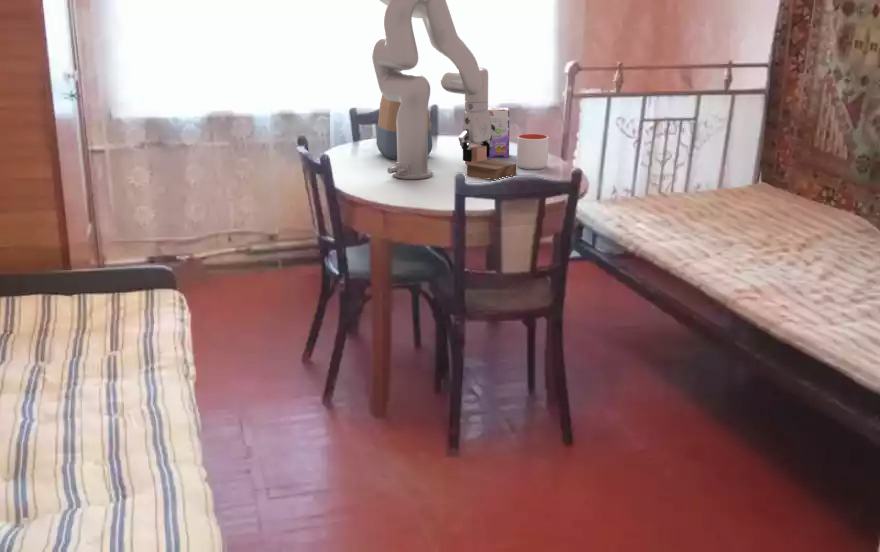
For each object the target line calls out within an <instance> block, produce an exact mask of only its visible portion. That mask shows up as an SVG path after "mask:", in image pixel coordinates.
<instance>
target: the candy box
mask: <svg viewBox="0 0 880 552" xmlns="http://www.w3.org/2000/svg"><path fill="white" fill-rule="evenodd" d="M488 110H489V113H490V119H491V129H493V130H494V132H493V135H492V139H491V144H490V156H489V157H488V158H509V157H510V138H511V137H510V136H511V135H510V130H511V128H510V125H511V124H510V122H511V121H510V114H511V113H510V110H511V109H510V107H497V106H496V107H494V106H493V107H492V106H491V107H489V106H488ZM474 144H475V145H481V144H483V143H482V142H480V143H473V144H472V145H474Z"/></svg>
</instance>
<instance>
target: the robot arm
mask: <svg viewBox="0 0 880 552" xmlns="http://www.w3.org/2000/svg"><path fill="white" fill-rule="evenodd" d="M379 1H380V2H382V4H384V5H385V6H386V8H385V10H384V14H383V17H382V26H383V27H382V28H383V32H384V36H381V37H379V38H378V39H377V40H376V41H375V43H374V45H373V47H372V51H371V52H372V53H371V56H372V57H371V59H372V64H373V68H374V72H375V75H376V80H377V84H378V88H379V91H380V92H381V94H382V95H383V96H384V97H385V98H386V99H387V100H389V101H393V102H399V103H401V104H400V107H399V110H398V113H397V119H396V126H397V160H396V162H395V163H394V166H389V167H387V170H386V171H387V173H388V174H389V175H391V174H392V175H391V176H393V177H394V178H396V179H402V180H422V179H428V178H430V177H432V176H433V175H434V173H433V170H431V169H429V168H428V167H429V165H428V163H429V162H428V161H429V160H428V158H429V155H428V142H427V111H429V102H430V96H431V86H430V85H431V84H430V83H429V81H428V79H427V78H426V77H425V76H424V75H421V74H419V73H417V72H410V71H409V70H412V69H414V68H415V67H417V64H418V62H419V52H418V47H417V43H416V38H415V34H414V28H413V21H412V19H413V18H414V19H415V18H417V19H422V21H423V24H424V27H425V30H426V33H427V36H428V38H429V42H430V45H431V47H433V48H434V49H435V50H436V51H437V52H439V53H440V54H442V55H443V56H445V57H446V58H447V59H449V60H450V61H451V62H452V63H453V65H454V66H455V68H450V69H447V70H445V71H444V72H443V73H442V75H441V76H440V85H441V87H442V88H443V89H444V90H445V91H447V92H449V93H453V94H459V95H464V114H463V120H462V121H463V122H462V133H461V134H460V135H459V136H458V141H459V145H460V146H461V150H462V161H464V162H465V161H467V162H471V161H472V150H471V149H470V148H471V146H472V144H473V143H480V142H482V143H483V144H481V145H482V146H487V155H486V158H490V157H489V156H490V144H491V139H492V135H493V132H494V130H493V129H491V119H490V113H489V110H488V107H489V71H488V69H487V68H484V67H479V64H478V62H477V59H476V57H475V56H474V53H473V52H472V51H471V50H470V49H469V47H468V46H467V45H466V43H465V42H464V41H463V40H462V39H461V38H460V37H459V36H458V33H457V31H456V28H455V24H454V21H453V18H452V14H451V12H450V9H449V6H448V3H447V0H379ZM382 95H381V96H382Z"/></svg>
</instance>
